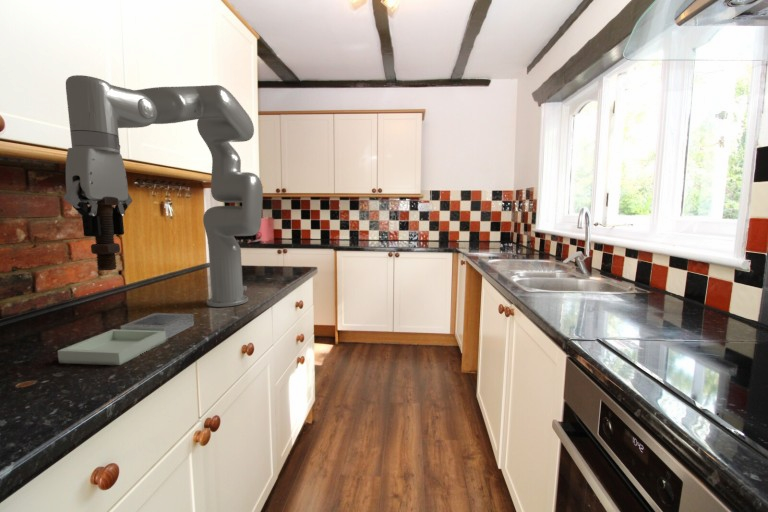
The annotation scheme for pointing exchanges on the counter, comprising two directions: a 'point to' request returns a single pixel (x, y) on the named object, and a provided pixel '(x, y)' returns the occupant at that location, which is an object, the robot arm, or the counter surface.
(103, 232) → the bolt
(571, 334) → the counter surface
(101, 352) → the tray
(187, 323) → the grey notched slab
